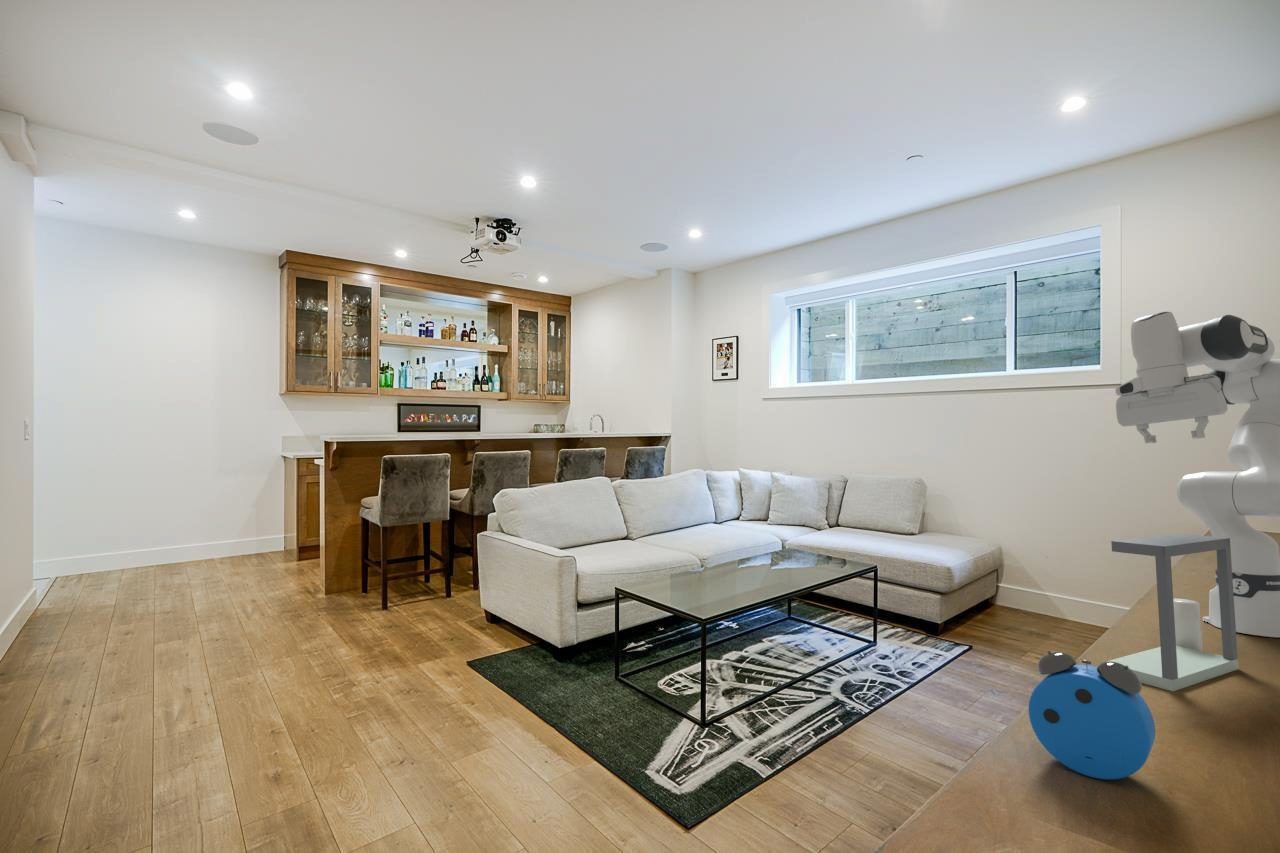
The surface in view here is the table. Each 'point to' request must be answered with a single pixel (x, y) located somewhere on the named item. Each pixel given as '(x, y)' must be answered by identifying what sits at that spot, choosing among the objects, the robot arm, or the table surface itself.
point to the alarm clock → (1092, 716)
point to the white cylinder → (1187, 624)
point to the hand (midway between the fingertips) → (1174, 440)
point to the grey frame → (1170, 661)
